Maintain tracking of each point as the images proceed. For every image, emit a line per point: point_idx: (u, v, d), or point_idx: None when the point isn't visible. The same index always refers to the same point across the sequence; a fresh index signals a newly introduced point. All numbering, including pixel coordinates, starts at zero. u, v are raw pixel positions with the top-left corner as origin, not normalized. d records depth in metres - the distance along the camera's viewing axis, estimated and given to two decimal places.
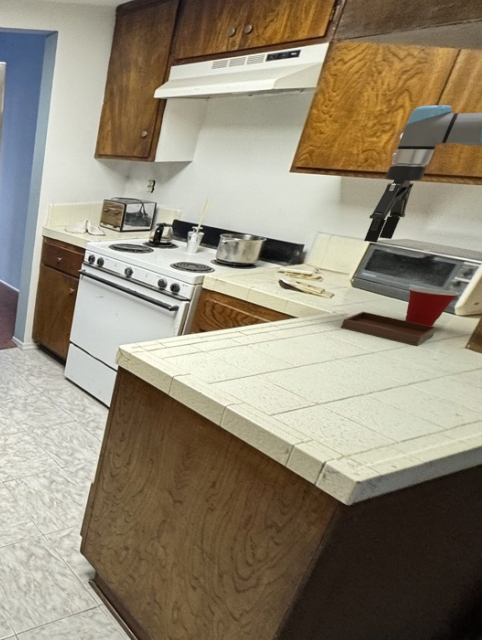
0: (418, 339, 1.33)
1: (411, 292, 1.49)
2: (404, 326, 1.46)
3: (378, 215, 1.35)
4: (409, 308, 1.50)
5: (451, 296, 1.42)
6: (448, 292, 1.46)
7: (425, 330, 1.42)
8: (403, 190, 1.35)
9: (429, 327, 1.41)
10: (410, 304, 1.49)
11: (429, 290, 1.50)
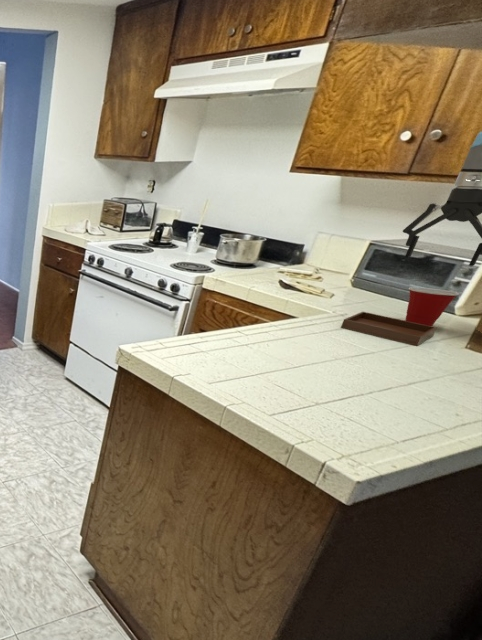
0: (418, 339, 1.33)
1: (411, 292, 1.49)
2: (404, 326, 1.46)
3: None
4: (409, 308, 1.50)
5: (451, 296, 1.42)
6: (448, 292, 1.46)
7: (425, 330, 1.42)
8: None
9: (429, 327, 1.41)
10: (410, 304, 1.49)
11: (429, 290, 1.50)
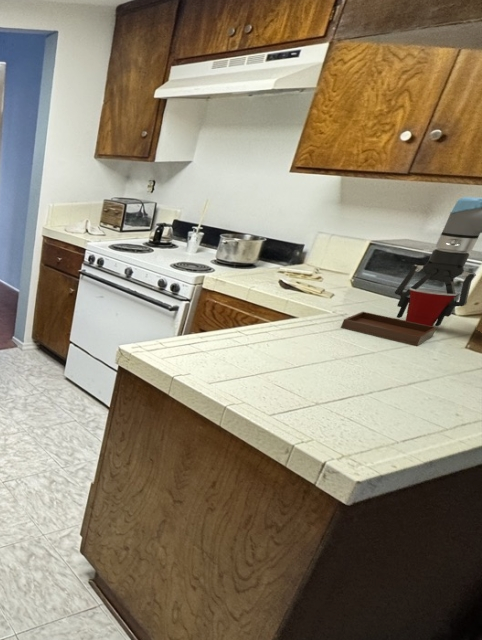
0: (418, 339, 1.33)
1: (411, 292, 1.48)
2: (404, 326, 1.46)
3: (464, 304, 1.42)
4: (409, 308, 1.50)
5: (451, 296, 1.42)
6: None
7: (425, 330, 1.42)
8: None
9: (429, 327, 1.41)
10: (410, 304, 1.49)
11: (429, 290, 1.50)
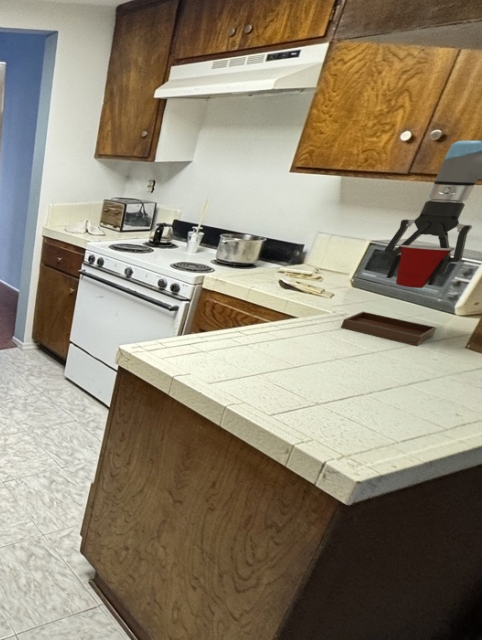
0: (418, 339, 1.33)
1: (402, 249, 1.36)
2: (404, 326, 1.46)
3: (459, 260, 1.30)
4: (400, 266, 1.38)
5: (446, 251, 1.30)
6: None
7: (425, 330, 1.42)
8: None
9: (429, 327, 1.41)
10: (401, 262, 1.37)
11: None
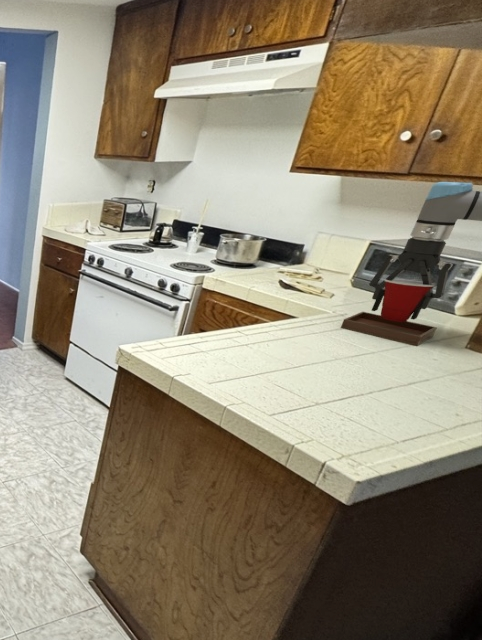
0: (418, 339, 1.33)
1: (386, 283, 1.40)
2: (404, 326, 1.46)
3: (441, 296, 1.33)
4: (384, 300, 1.41)
5: (428, 287, 1.34)
6: None
7: (425, 330, 1.42)
8: None
9: (429, 327, 1.41)
10: (385, 296, 1.41)
11: (406, 281, 1.42)
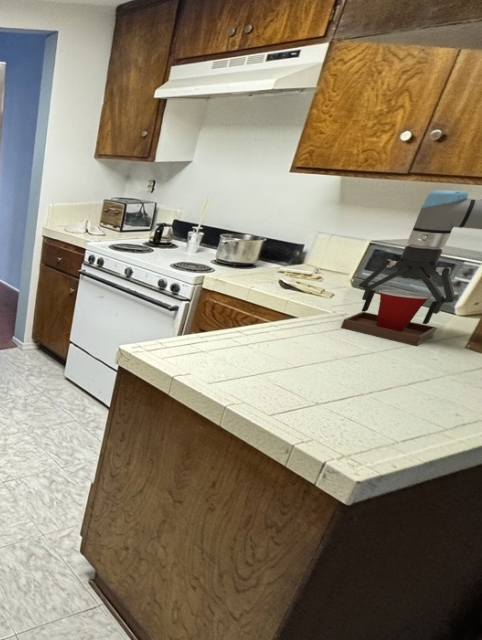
0: (418, 339, 1.33)
1: (381, 295, 1.42)
2: None
3: (454, 300, 1.31)
4: (380, 312, 1.43)
5: (422, 299, 1.35)
6: (420, 295, 1.39)
7: (425, 330, 1.42)
8: None
9: (429, 327, 1.41)
10: (380, 307, 1.42)
11: (401, 293, 1.43)
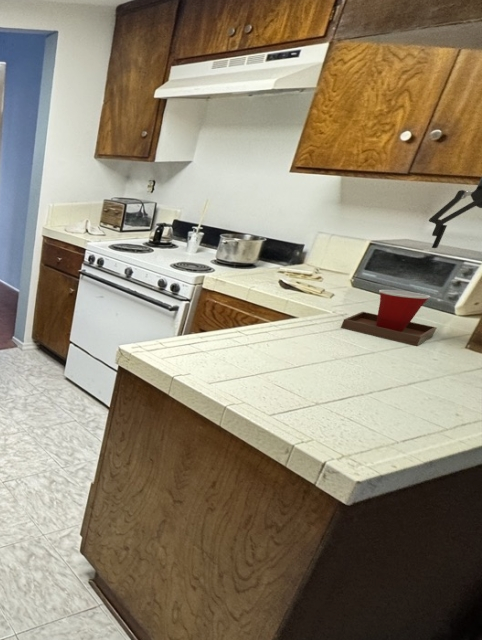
0: (418, 339, 1.33)
1: (381, 295, 1.42)
2: None
3: None
4: (380, 312, 1.43)
5: (422, 299, 1.35)
6: (420, 295, 1.39)
7: (425, 330, 1.42)
8: None
9: (429, 327, 1.41)
10: (380, 307, 1.42)
11: (401, 293, 1.43)
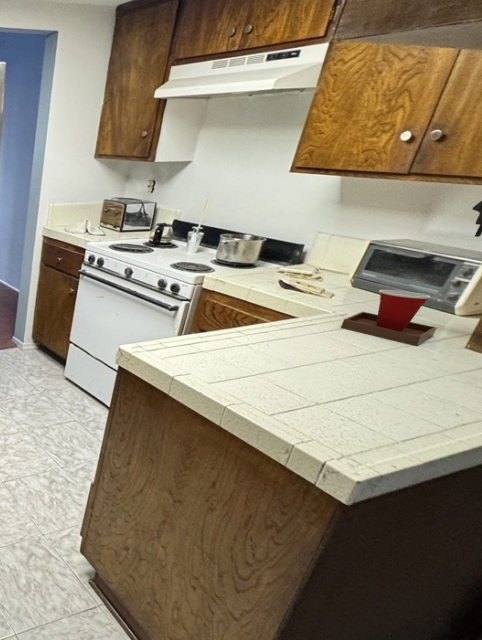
0: (418, 339, 1.33)
1: (381, 295, 1.42)
2: None
3: None
4: (380, 312, 1.43)
5: (422, 299, 1.35)
6: (420, 295, 1.39)
7: (425, 330, 1.42)
8: None
9: (429, 327, 1.41)
10: (380, 307, 1.42)
11: (401, 293, 1.43)
